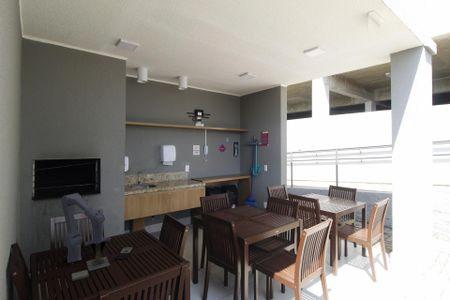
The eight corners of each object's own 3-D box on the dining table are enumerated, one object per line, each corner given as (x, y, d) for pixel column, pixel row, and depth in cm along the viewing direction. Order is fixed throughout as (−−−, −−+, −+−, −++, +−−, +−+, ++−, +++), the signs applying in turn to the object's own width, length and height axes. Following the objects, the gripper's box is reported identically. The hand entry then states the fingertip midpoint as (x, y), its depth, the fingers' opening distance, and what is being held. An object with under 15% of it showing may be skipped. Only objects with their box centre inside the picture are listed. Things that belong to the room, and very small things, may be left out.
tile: (71, 273, 144) (72, 279, 138) (87, 269, 149) (88, 274, 143) (71, 276, 144) (72, 282, 138) (87, 272, 149) (88, 277, 143)
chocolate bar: (113, 259, 164) (122, 247, 182) (113, 260, 164) (122, 249, 182) (127, 258, 165) (134, 247, 183) (127, 259, 165) (134, 248, 183)
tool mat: (86, 262, 160) (86, 261, 160) (106, 257, 167) (106, 256, 167) (88, 271, 149) (89, 270, 149) (110, 265, 156) (110, 265, 156)
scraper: (91, 262, 158) (91, 250, 158) (103, 259, 162) (103, 247, 162) (92, 264, 154) (92, 252, 154) (104, 261, 159) (104, 249, 158)
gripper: (85, 237, 150) (86, 259, 151) (111, 232, 159) (111, 253, 159) (84, 234, 156) (84, 255, 156) (109, 229, 164) (109, 249, 165)
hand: (98, 254), depth 158 cm, fingers closed on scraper, 3 cm apart
